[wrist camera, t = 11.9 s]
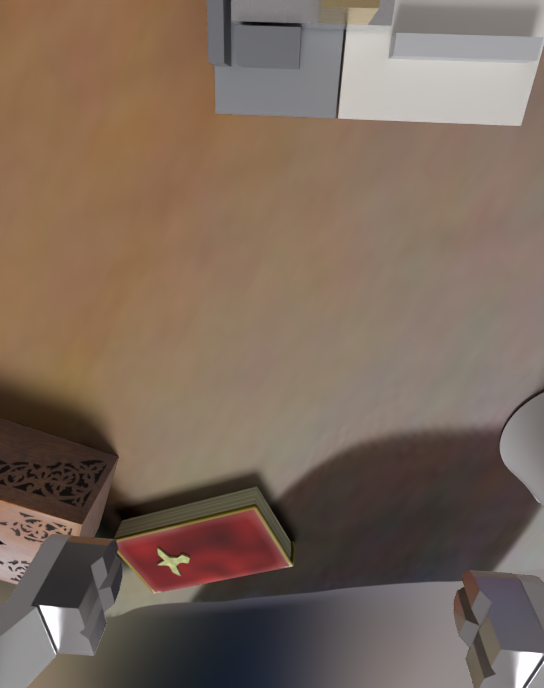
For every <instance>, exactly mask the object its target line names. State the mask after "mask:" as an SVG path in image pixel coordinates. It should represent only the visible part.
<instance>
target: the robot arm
mask: <svg viewBox="0 0 544 688" xmlns="http://www.w3.org/2000/svg"><path fill="white" fill-rule="evenodd" d="M500 453H501V457H502V459H503V462H504V463H505V465H506V466H507V468H508V469H509V470H510V471H511V472H512V473H513V474H514V475H516V476H517V477H518V478H519V479H520V480H521V481H522V482H523V483H524V485H525V486H526V487H527V488H528V489H529V490H530V492H531V493H532V495H533V496H534V497H535V499H536V500H537V501H538V502H539V503H541V505H542V506H543V507H544V392H543V393H541V394H540V395H538V396H536V397H534V398H533V399H531V400H530V401H528V402H527V403H526V404H524V405H523V406H522V407H521V408H520V409H519V410H518V411H517V412H516V413H515V414H514V415H513V416H512V417H511V419H510V420H509V421H508V423H507V425H506V426H505V428H504V431H503V433H502V436H501V440H500ZM118 549H119V548H118V545H117V541H116V540H112V539H102V538H91V537H81V536H74V535H62V534H51V535H50V536H49V537H48V538H47V539H46V540H44V542H43V544H42V545H41V547H40V549H39V550H38V552H37V553H36V555H35V557H34V558H33V560H32V562H31V563H30V565H29V566H28V568H27V570H26V571H25V573H24V575H23V576H22V578H21V579H20V581H19V583H18V584H17V586H16V588H15V589H14V591H13V593H12V594H11V596H10V597H9V599H8V601H7V602H6V603H0V688H26V687H27V686H28V685H29V684H30V683H31V682H32V681H33V680H34V679H35V678H36V677H37V675H38V674H39V673H40V672H41V671H42V670H43V669H44V668H45V667H46V666H47V665H48V664H49V663H50V662H51V661H52V660H53V659H54V658H55V657H56V653H65V654H78V655H93V656H94V654H95V652H96V649H97V647H98V644H99V642H100V639H101V637H102V634H103V632H104V629H105V627H106V624H107V623H106V619H105V615H104V612H105V611H107V610H108V609H109V608H110V607H111V606H112V605H113V604H114V603H115V601H116V598H117V596H118V593H119V590H120V585H121V581H122V573H123V567H122V562H121V560H120V559H119V558H118V557H116V554H117V551H118ZM462 581H463V584H464V587H463V588H461V589H460V590H458V591H457V593H456V596H455V599H454V617H455V623H456V627H457V631H458V634H459V637H460V638H461V639H462V640H463V641H464V642H465V643H466V645H467V646H468V647H469V650H468V653H467V656H466V662H467V666H468V669H469V672H470V676H471V679H472V683H473V686H474V688H544V582H543V581H542V580H541V579H540V578H539V577H537V576H532V575H519V574H512V573H501V572H486V571H472V570H469V571H467V572H465V574H464V576H463V578H462Z"/></svg>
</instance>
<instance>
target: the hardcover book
mask: <svg viewBox="0 0 544 688" xmlns="http://www.w3.org/2000/svg"><path fill="white" fill-rule="evenodd" d="M112 540H116V541H117V545H118V548H119V549H118V551H117V553H118V554H119V555H120V556H121V558H122V559H123V560H124V561H125V562H126V563H127V564H128V565H129V566H130V568H131V569H132V570H133V571H134V572H135V573H136V574H137V575H138V577H139V578H140V579H141V580H142V581H143V582H144V583H145V584H146V586H147V587H148V588H149V589H150V590H151V591H152V592H153V593H159V592H164V591H169V590H174V589H179V588H184V587H190V586H195V585H200V584H205V583H210V582H215V581H220V580H225V579H230V578H235V577H240V576H246V575H251V574H256V573H261V572H266V571H271V570H276V569H281V568H286V567H291V566H293V565H294V556H295V546H294V541H290V540H289V538H288V537H287V535H286V533H285V532H284V530H283V528H282V527H281V525H280V523H279V522H278V520H277V518H276V517H275V515H274V513H273V512H272V510H271V508H270V507H269V505H268V503H267V502H266V500H265V498H264V497H263V495H262V493H261V492H260V490H259V489H258V487H257V486H256V487H252V488H248V489H244V490H240V491H236V492H232V493H228V494H224V495H220V496H217V497H213V498H209V499H205V500H201V501H197V502H193V503H189V504H185V505H181V506H177V507H173V508H169V509H165V510H161V511H158V512H154V513H150V514H146V515H142V516H138V517H134V518H130V519H126V520H122V522H121V524H120V526H119V528H118V531H117V533H116V535H115V537H114V538H112Z"/></svg>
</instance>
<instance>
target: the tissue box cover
mask: <svg viewBox="0 0 544 688" xmlns="http://www.w3.org/2000/svg"><path fill="white" fill-rule="evenodd" d="M118 458H119V457H118V456H115V455H112V454H109V453H106V452H103V451H100V450H97V449H94V448H91V447H88V446H85V445H82V444H79V443H76V442H73V441H70V440H67V439H64V438H60V437H57V436H54V435H51V434H48V433H45V432H42V431H39V430H36V429H33V428H30V427H27V426H24V425H21V424H18V423H15V422H12V421H9V420H6V419H3V418H0V580H2V581H6V582H9V583H13V584H16V585H17V584H18V583H19V581H20V579H21V578H22V576H23V575H24V573H25V571H26V570H27V568H28V566H29V565H30V563H31V562H32V560H33V558H34V557H35V555H36V553H37V552H38V550H39V549H40V547H41V545H42V544H43V542H44V540H46V539H47V538H48V537H49V536H50V535H51V534H62V535H74V536H81V537H91V538H94V536H95V534H96V532H97V530H98V528H99V525H100V521H101V518H102V514H103V511H104V507H105V504H106V500H107V497H108V493H109V490H110V486H111V483H112V479H113V476H114V472H115V469H116V465H117V462H118Z"/></svg>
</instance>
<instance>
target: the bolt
mask: <svg viewBox="0 0 544 688" xmlns="http://www.w3.org/2000/svg"><path fill="white" fill-rule="evenodd" d="M394 5H395V0H231V21H232V22H233V23H234V25H235V26H236V25H248V26H280V27H301V28H305V29H337V30H370V31H387V30H388V29H389V28H390V27H391V26H392V20H393V12H394Z"/></svg>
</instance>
